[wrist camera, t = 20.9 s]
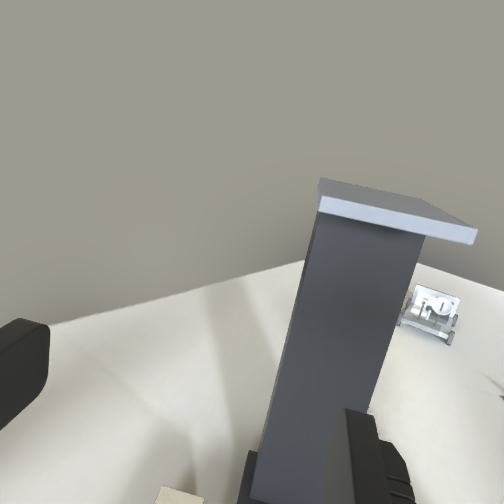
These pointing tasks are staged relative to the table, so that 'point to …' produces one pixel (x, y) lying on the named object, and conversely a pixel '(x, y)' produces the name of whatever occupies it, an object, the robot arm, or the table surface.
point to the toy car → (431, 312)
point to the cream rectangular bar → (177, 497)
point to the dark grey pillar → (339, 330)
